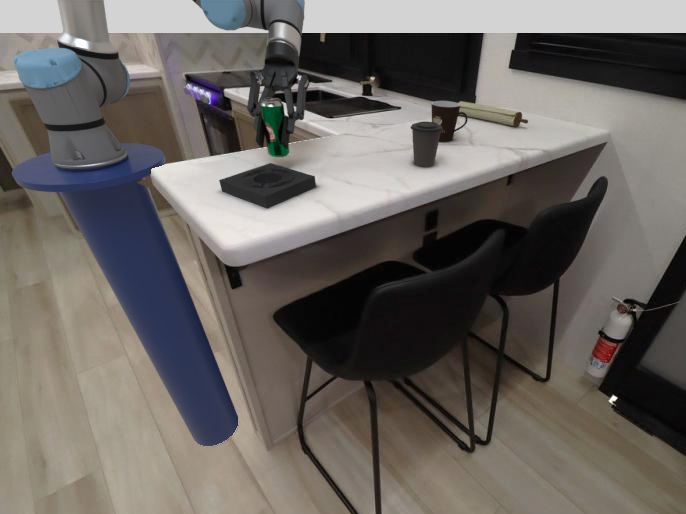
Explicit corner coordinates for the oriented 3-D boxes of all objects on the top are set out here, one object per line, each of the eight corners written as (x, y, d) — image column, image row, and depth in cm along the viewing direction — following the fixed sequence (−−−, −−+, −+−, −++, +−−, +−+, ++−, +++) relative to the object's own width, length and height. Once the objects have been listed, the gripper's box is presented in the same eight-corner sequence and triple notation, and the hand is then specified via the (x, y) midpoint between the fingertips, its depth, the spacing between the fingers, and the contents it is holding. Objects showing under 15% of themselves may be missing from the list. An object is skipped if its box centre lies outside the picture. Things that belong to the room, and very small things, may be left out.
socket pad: (221, 191, 81) (218, 179, 79) (272, 173, 90) (270, 162, 88) (267, 208, 75) (264, 196, 73) (316, 187, 84) (314, 176, 83)
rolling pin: (529, 128, 133) (533, 112, 130) (522, 131, 130) (526, 115, 126) (454, 112, 149) (456, 98, 146) (446, 114, 146) (447, 99, 143)
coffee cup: (445, 164, 99) (450, 124, 93) (424, 171, 95) (428, 129, 88) (423, 156, 104) (426, 117, 97) (402, 163, 99) (403, 122, 93)
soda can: (264, 153, 91) (254, 98, 84) (283, 150, 94) (275, 96, 86) (274, 159, 88) (265, 102, 81) (294, 155, 91) (286, 100, 84)
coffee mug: (424, 136, 120) (426, 101, 113) (447, 134, 123) (451, 100, 116) (441, 147, 111) (445, 110, 105) (466, 144, 114) (471, 108, 108)
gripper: (324, 66, 92) (315, 155, 90) (251, 62, 93) (239, 151, 90) (317, 41, 85) (307, 138, 82) (238, 37, 85) (225, 133, 83)
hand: (272, 144), depth 86 cm, fingers closed on soda can, 5 cm apart
